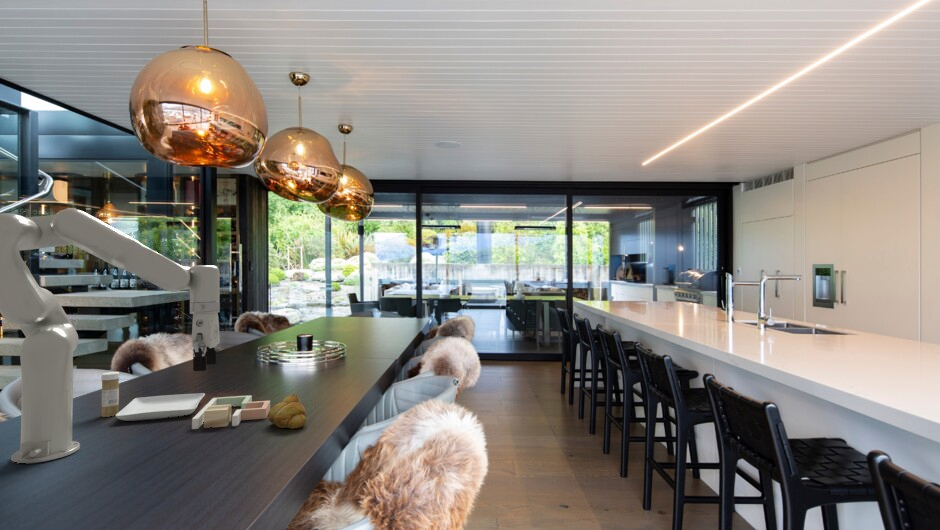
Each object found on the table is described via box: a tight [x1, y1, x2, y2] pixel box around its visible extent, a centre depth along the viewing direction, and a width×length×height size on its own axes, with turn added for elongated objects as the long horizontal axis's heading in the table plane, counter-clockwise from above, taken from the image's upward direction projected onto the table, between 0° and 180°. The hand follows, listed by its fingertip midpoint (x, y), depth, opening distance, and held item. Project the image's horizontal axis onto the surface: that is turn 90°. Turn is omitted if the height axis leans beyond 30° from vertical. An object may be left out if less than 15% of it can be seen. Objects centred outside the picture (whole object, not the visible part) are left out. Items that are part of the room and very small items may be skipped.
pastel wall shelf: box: [191, 395, 271, 430], centre depth 150 cm, size 24×19×3 cm
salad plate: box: [114, 392, 206, 422], centre depth 153 cm, size 21×21×3 cm
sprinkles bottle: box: [100, 371, 120, 418], centre depth 149 cm, size 5×5×13 cm
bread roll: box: [268, 394, 307, 429], centre depth 139 cm, size 13×10×8 cm
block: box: [203, 404, 232, 429], centre depth 141 cm, size 6×6×5 cm
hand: (205, 367), depth 136 cm, fingers open, 9 cm apart
